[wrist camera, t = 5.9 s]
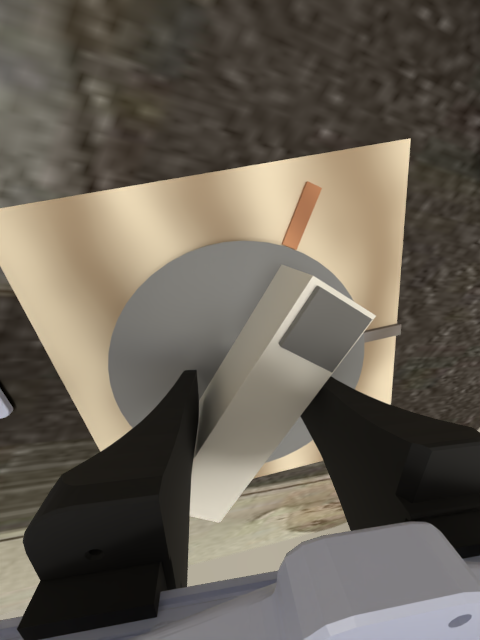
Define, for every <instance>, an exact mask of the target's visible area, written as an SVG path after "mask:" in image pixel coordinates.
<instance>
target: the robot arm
mask: <svg viewBox="0 0 480 640" xmlns="http://www.w3.org/2000/svg"><path fill="white" fill-rule="evenodd" d="M12 411H13V407H12V405H11V404H10V402H9V401H8V399H7V398H6V396H5V395H4V393H3V392H2V390H1V389H0V419H1V418H5V417H7V416H8V415H9V414H11V413H12ZM301 418H302V420H303V422H304V424H305V426H306V428H307V429H308V431H309V433H310V435H311V437H312V439H313V441H314V443H315V444H316V446H317V448H318V450H319V452H320V454H321V456H322V458H323V460H324V463H325V465H326V468H327V470H328V473H329V475H330V477H331V480H332V482H333V485H334V487H335V490H336V493H337V495H338V498H339V500H340V503H341V505H342V508H343V511H344V514H345V516H346V519H347V522H348V525H349V527H350V530H351V531H348V532H342V533H336V534H330V535H324V536H320V537H317V538H313V539H310V540H307V541H304V542H302V543H300V544H299V545H298V546H296V547H295V548H294V549H292V550H291V551H289V552H288V553H287V554H286V556H285V558H284V560H283V562H282V564H281V566H280V568H279V570H278V571H274V572H268V573H262V574H257V575H251V576H246V577H241V578H234V579H229V580H223V581H218V582H212V583H207V584H201V585H195V586H190V587H187V570H188V569H187V568H188V542H189V517H190V495H191V475H192V465H193V458H194V451H195V444H196V437H197V430H198V422H199V394H198V381H197V370H184V371H183V372H182V374H181V375H180V377H179V378H178V380H177V381H176V383H175V384H174V385H173V387H172V388H171V389H170V391H169V392H168V393H167V394H166V396H165V397H164V398H163V399H162V400H161V401H160V403H159V404H158V405H157V406H156V407H155V408H154V409H153V410H152V411H151V412H150V413H149V414H148V415H147V416H146V417H145V418H144V419H143V420H142V421H141V422H140V423H139V424H137V425H136V426H135V427H134V428H132V429H131V430H130V431H129V432H127V433H126V434H125V435H124V436H122V437H121V438H120V439H118V440H117V441H116V442H114V443H113V444H111V445H110V446H108V447H107V448H105V449H104V450H102V451H101V452H99V453H98V454H96V455H95V456H93V457H91V458H90V459H88V460H86V461H85V462H83V463H81V464H80V465H78V466H76V467H74V468H73V469H71V470H69V471H68V472H66V473H64V474H62V475H61V477H60V478H59V480H58V481H57V482H56V484H55V485H54V486H53V488H52V489H51V491H50V492H49V494H48V496H47V497H46V499H45V500H44V502H43V503H42V505H41V507H40V508H39V510H38V512H37V513H36V515H35V516H34V518H33V520H32V521H31V523H30V524H29V526H28V528H27V529H26V531H25V533H24V538H23V544H24V547H25V551H26V554H27V556H28V558H29V560H30V562H31V563H32V565H33V567H34V569H35V571H36V573H37V575H38V577H39V579H40V580H41V581H40V583H39V585H38V587H37V589H36V591H35V593H34V595H33V597H32V599H31V601H30V603H29V605H28V607H27V609H26V611H25V613H24V615H23V616H22V617H16V618H11V619H5V620H0V640H480V432H478V431H477V430H475V429H474V428H472V427H468V426H463V425H459V424H455V423H450V422H446V421H442V420H437V419H434V418H430V417H427V416H423V415H420V414H416V413H413V412H410V411H407V410H404V409H401V408H398V407H395V406H392V405H390V404H387V403H384V402H382V401H379V400H377V399H375V398H372V397H370V396H368V395H366V394H363V393H361V392H359V391H357V390H355V389H353V388H351V387H349V386H347V385H345V384H344V383H342V382H340V381H338V380H336V379H335V378H333V377H331V376H330V377H329V379H328V380H327V381H326V383H325V384H324V385H323V387H322V388H321V389H320V391H319V392H318V393H317V395H316V396H315V397H314V399H313V400H312V401H311V403H310V404H309V405H308V407H307V408H306V409H305V410H304V412H303V413H302V414H301Z"/></svg>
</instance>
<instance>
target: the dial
mask: <svg viewBox="0 0 480 640" xmlns="http://www.w3.org/2000/svg"><path fill="white" fill-rule="evenodd" d="M375 317H376V315H374V314H373V313H371V312H369V311H368V310H366V309H365V308H363V307H362V306H360V305H358V304H357V303H355V302H354V301H353V299H352V297H351V295H350V294H349V292H348V291H347V289H346V288H345V287H344V285H343V284H342V283H341V282H340V280H339V279H338V278H337V277H336V276H335V275H334V274H333V273H332V272H331V271H330V270H328V269H327V268H326V267H324V266H323V265H322V264H321V263H319V262H318V261H316V260H314V259H313V258H311V257H309V256H307V255H305V254H304V253H302V252H299V251H296V250H294V249H291V248H288V247H286V246H281V245H277V244H272V243H268V242H257V241H229V242H221V243H217V244H212V245H207V246H204V247H201V248H198V249H196V250H193V251H190V252H188V253H186V254H184V255H182V256H180V257H178V258H176V259H174V260H172V261H171V262H169V263H167V264H166V265H165V266H163V267H162V268H161V269H159V270H158V271H156V272H155V273H154V274H152V275H151V276H150V277H149V278H148V279H147V280H146V281H145V282H144V283H143V284H142V285H141V286H140V287H139V288H138V289H137V290H136V291H135V293H134V294H133V295H132V297H131V298H130V299H129V301H128V302H127V303H126V305H125V307H124V309H123V310H122V312H121V314H120V316H119V318H118V320H117V322H116V325H115V328H114V331H113V333H112V336H111V342H110V347H109V352H108V372H109V379H110V385H111V389H112V392H113V395H114V398H115V401H116V403H117V405H118V407H119V409H120V411H121V413H122V414H123V416H124V417H125V419H126V420H127V422H128V423H129V425H130V426H131V427H132V428H134V427H135V426H136V425H137V424H139V423H140V422H141V421H142V420H143V419H144V418H145V417H146V416H147V415H148V414H149V413H150V412H151V411H152V410H153V409H154V408H155V407H156V406H157V405H158V404H159V403H160V401H161V400H162V399H163V398H164V397H165V396H166V394H167V393H168V392H169V391H170V389H171V388H172V387H173V385H174V384H175V383H176V381H177V380H178V378H179V377H180V375H181V374H182V372H183V371H184V370H197V381H198V394H199V422H198V430H197V437H196V444H195V451H194V458H193V465H192V475H191V495H190V516H192V517H196V518H201V519H205V520H210V521H214V522H219V523H220V521H221V520H222V519H223V517H224V516H225V515H226V513H227V512H228V511H229V509H230V508H231V507H232V506H233V504H234V503H235V502H236V500H237V499H238V498H239V496H240V495H241V494H242V492H243V491H244V490H245V488H246V487H247V486H248V484H249V483H250V482H251V480H252V479H253V478H254V476H255V475H256V474H257V473H258V471H259V470H260V469H261V467H262V466H263V465H264V463H266V462H270V461H273V460H276V459H279V458H281V457H284V456H286V455H288V454H290V453H292V452H294V451H297V450H298V449H300V448H302V447H303V446H305V445H307V444H308V443H310V442H311V441H312V440H313V439H312V437H311V435H310V433H309V431H308V429H307V428H306V426H305V424H304V422H303V420H302V418H301V414H302V413H303V412H304V410H305V409H306V408H307V407H308V405H309V404H310V403H311V401H312V400H313V399H314V397H315V396H316V395H317V393H318V392H319V391H320V389H321V388H322V387H323V385H324V384H325V383H326V381H327V380H328V379H329V377H330V376H331V377H333V378H335V379H336V380H338V381H340V382H342V383H344V384H345V385H347V386H349V387H351V388H353V389H355V388H356V386H357V383H358V381H359V377H360V374H361V370H362V366H363V359H364V331H365V330H366V329H367V327H368V326H369V325H370V323H371V322H372V321H373V319H374V318H375Z"/></svg>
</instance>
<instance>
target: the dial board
mask: <svg viewBox="0 0 480 640" xmlns="http://www.w3.org/2000/svg"><path fill="white" fill-rule="evenodd" d="M410 139H411V138H410ZM410 139H404V140H399V141H393V142H387V143H381V144H375V145H369V146H363V147H357V148H352V149H346V150H340V151H334V152H328V153H322V154H316V155H311V156H305V157H299V158H293V159H287V160H281V161H275V162H270V163H264V164H258V165H252V166H246V167H240V168H234V169H229V170H223V171H217V172H211V173H205V174H199V175H193V176H188V177H182V178H176V179H170V180H164V181H158V182H152V183H146V184H141V185H135V186H129V187H123V188H117V189H111V190H105V191H100V192H94V193H88V194H82V195H76V196H70V197H64V198H59V199H53V200H47V201H41V202H35V203H29V204H23V205H18V206H12V207H6V208H0V267H1V268H2V270H3V272H4V274H5V276H6V278H7V279H8V281H9V283H10V285H11V287H12V289H13V291H14V292H15V294H16V296H17V298H18V300H19V302H20V304H21V305H22V307H23V309H24V311H25V313H26V315H27V317H28V318H29V320H30V322H31V324H32V326H33V328H34V329H35V331H36V333H37V335H38V337H39V339H40V341H41V342H42V344H43V346H44V348H45V350H46V352H47V354H48V355H49V357H50V359H51V361H52V363H53V365H54V367H55V368H56V370H57V372H58V374H59V376H60V378H61V379H62V381H63V383H64V385H65V387H66V389H67V391H68V392H69V394H70V396H71V398H72V400H73V402H74V404H75V405H76V407H77V409H78V411H79V413H80V415H81V417H82V418H83V420H84V422H85V424H86V426H87V428H88V429H89V431H90V433H91V435H92V437H93V439H94V441H95V442H96V444H97V446H98V448H99V450H100V452H101V451H102V450H104V449H105V448H107V447H108V446H110V445H111V444H113V443H114V442H116V441H117V440H118V439H120V438H121V437H122V436H124V435H125V434H126V433H127V432H129V431H130V430H131V429H132V427H131V426H130V425H129V423H128V422H127V420H126V419H125V417H124V416H123V414H122V413H121V411H120V409H119V407H118V405H117V403H116V401H115V398H114V395H113V392H112V389H111V385H110V379H109V372H108V352H109V347H110V342H111V336H112V333H113V331H114V328H115V325H116V322H117V320H118V318H119V316H120V314H121V312H122V310H123V309H124V307H125V305H126V303H127V302H128V301H129V299H130V298H131V297H132V295H133V294H134V293H135V291H136V290H137V289H138V288H139V287H140V286H141V285H142V284H143V283H144V282H145V281H146V280H147V279H148V278H149V277H150V276H151V275H152V274H154V273H155V272H156V271H158V270H159V269H161V268H162V267H163V266H165V265H166V264H167V263H169V262H171V261H172V260H174V259H176V258H178V257H180V256H182V255H184V254H186V253H188V252H190V251H193V250H196V249H198V248H201V247H204V246H207V245H212V244H217V243H221V242H229V241H257V242H268V243H272V244H277V245H281V246H286V247H288V248H291V249H294V250H296V251H299V252H302V253H304V254H305V255H307V256H309V257H311V258H313V259H314V260H316V261H318V262H319V263H321V264H322V265H323V266H324V267H326V268H327V269H328V270H330V271H331V272H332V273H333V274H334V275H335V276H336V277H337V278H338V279H339V280H340V282H341V283H342V284H343V285H344V287H345V288H346V289H347V291H348V292H349V294H350V295H351V297H352V299H353V301H354V302H355V303H357V304H358V305H360V306H362V307H363V308H365V309H366V310H368V311H369V312H371V313H373V314H374V315H376V317H375V318H374V319H373V321H372V322H371V323H370V325H369V326H368V327H367V329H366V330H365V331H364V359H363V366H362V370H361V374H360V377H359V381H358V383H357V386H356V388H355V390H357V391H359V392H361V393H363V394H366V395H368V396H370V397H372V398H375V399H377V400H379V401H382V402H384V403H387V404H390V405H391V394H392V381H393V367H394V354H395V341H396V336H397V335H400V334H401V324H399V323H397V314H398V300H399V287H400V274H401V260H402V247H403V233H404V220H405V207H406V193H407V180H408V166H409V153H410ZM320 461H323V458H322V456H321V454H320V452H319V450H318V448H317V446H316V444H315V443H314V441H313V440H312V441H311V442H310V443H308V444H307V445H305V446H303V447H302V448H300V449H298V450H297V451H294V452H292V453H290V454H288V455H286V456H284V457H281V458H279V459H276V460H273V461H270V462H266V463H264V465H263V466H262V467H261V469H260V470H259V471H258V473H257V474H256V475H255V476H254V478H257V477H261V476H264V475H268V474H272V473H276V472H280V471H284V470H288V469H292V468H296V467H300V466H304V465H308V464H312V463H316V462H320Z"/></svg>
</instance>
